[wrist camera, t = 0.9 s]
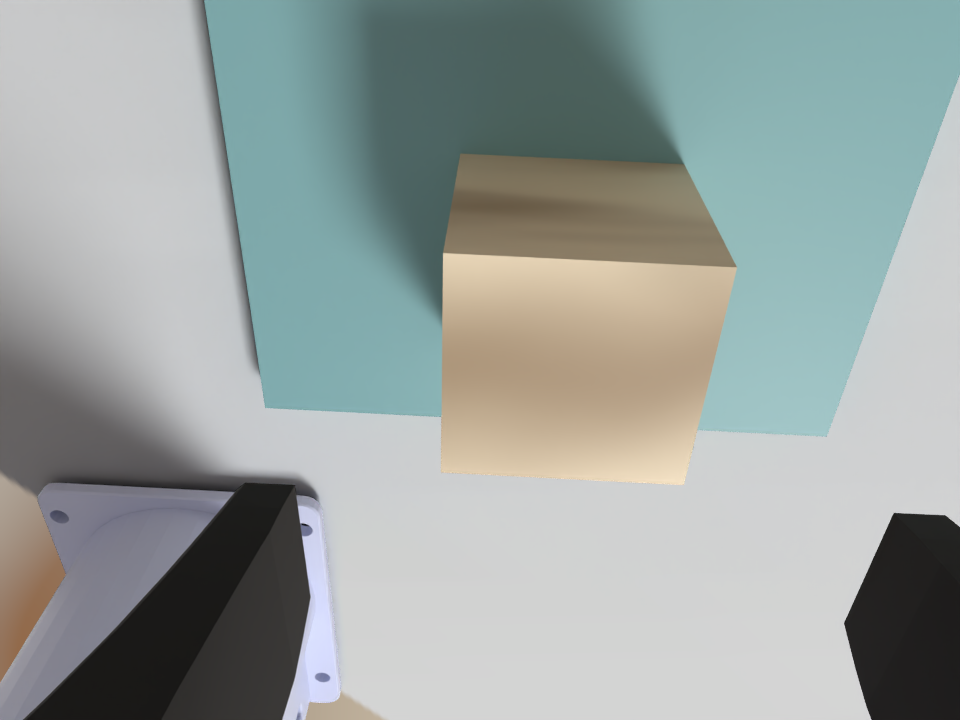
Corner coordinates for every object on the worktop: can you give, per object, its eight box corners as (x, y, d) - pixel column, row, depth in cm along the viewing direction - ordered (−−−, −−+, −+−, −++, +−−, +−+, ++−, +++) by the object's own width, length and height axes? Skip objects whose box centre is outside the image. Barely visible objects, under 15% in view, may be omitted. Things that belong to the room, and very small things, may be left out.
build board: (816, 416, 20) (826, 436, 19) (273, 388, 20) (265, 407, 20) (1251, -826, 9) (1308, -876, 9) (98, -863, 10) (67, -915, 9)
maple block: (649, 351, 18) (683, 484, 14) (456, 341, 18) (440, 471, 14) (683, 164, 16) (737, 267, 12) (460, 153, 16) (442, 253, 12)
